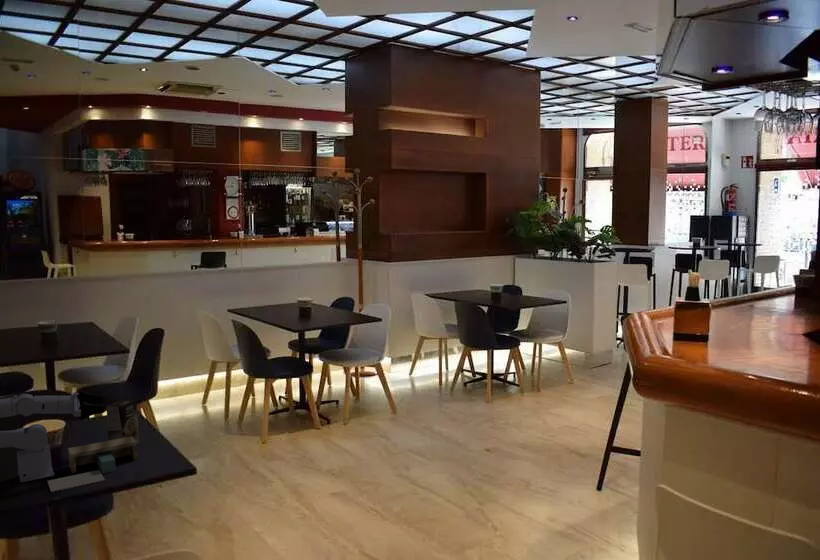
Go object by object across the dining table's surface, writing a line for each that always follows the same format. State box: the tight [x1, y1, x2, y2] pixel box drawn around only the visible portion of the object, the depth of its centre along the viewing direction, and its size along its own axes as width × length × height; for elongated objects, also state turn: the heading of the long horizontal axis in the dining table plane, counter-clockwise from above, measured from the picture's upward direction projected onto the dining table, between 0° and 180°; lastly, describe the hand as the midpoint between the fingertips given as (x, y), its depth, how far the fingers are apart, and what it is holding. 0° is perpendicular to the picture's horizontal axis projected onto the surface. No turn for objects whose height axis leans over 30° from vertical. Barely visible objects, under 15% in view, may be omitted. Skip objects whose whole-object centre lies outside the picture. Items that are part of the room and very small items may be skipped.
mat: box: [47, 469, 106, 493], centre depth 214 cm, size 15×10×1 cm, turn 123°
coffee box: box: [105, 399, 140, 445], centre depth 245 cm, size 9×6×16 cm
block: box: [95, 451, 117, 475], centre depth 226 cm, size 4×12×4 cm, turn 33°
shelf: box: [67, 436, 138, 474], centre depth 229 cm, size 20×7×6 cm, turn 123°
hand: (103, 404), depth 228 cm, fingers open, 7 cm apart
